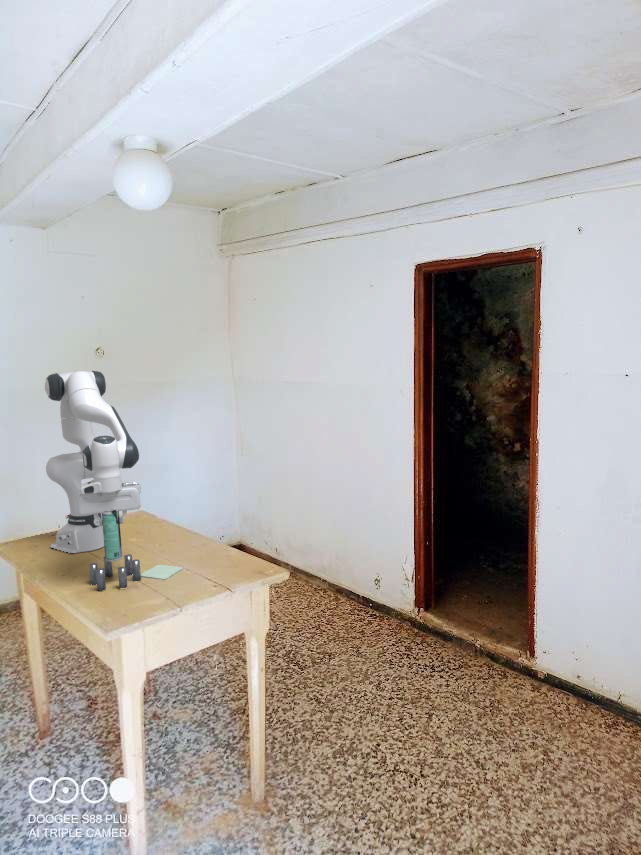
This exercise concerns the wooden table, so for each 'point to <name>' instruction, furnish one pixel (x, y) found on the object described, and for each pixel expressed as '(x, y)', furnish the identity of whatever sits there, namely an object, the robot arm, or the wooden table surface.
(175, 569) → the mat
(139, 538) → the wooden table surface
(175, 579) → the wooden table surface
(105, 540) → the spray can
